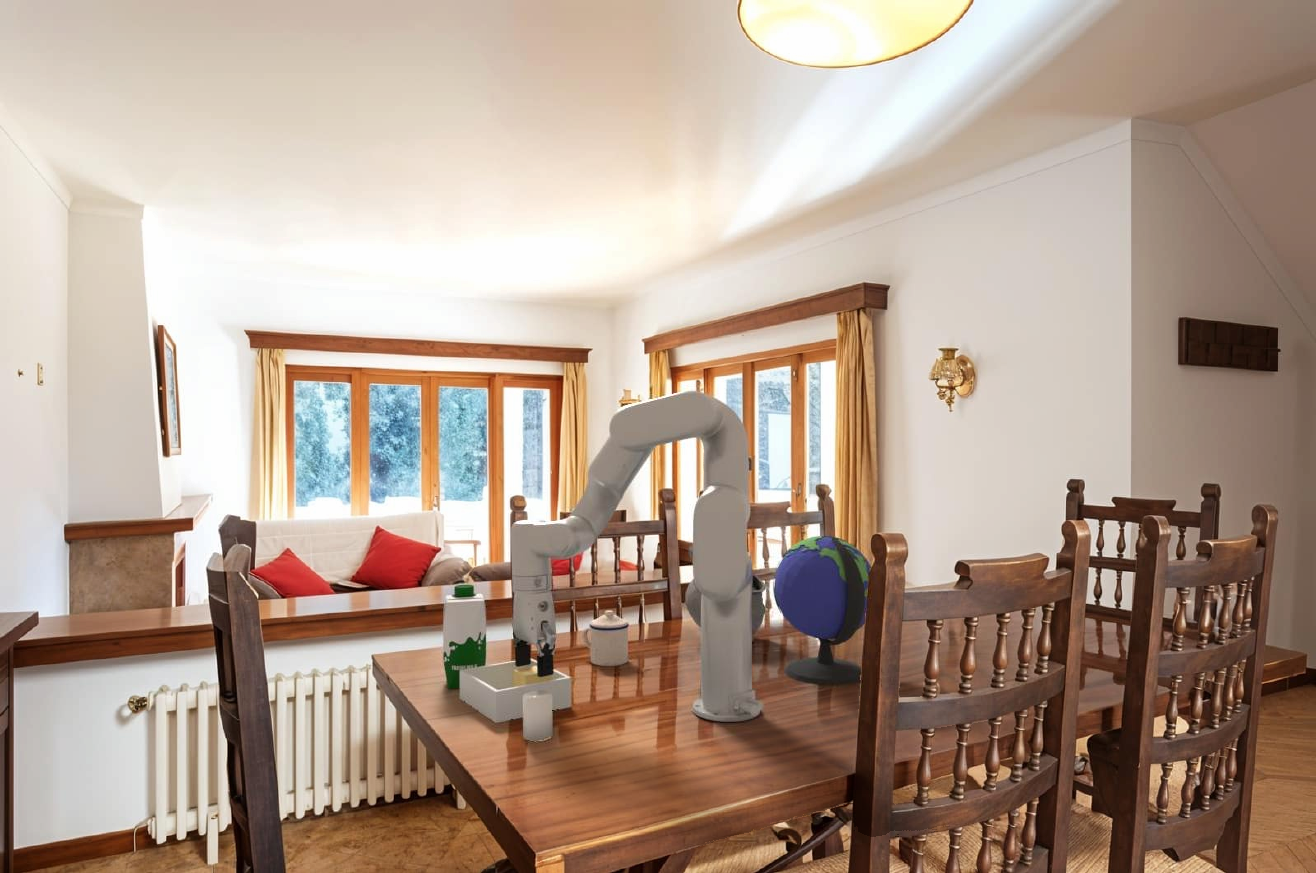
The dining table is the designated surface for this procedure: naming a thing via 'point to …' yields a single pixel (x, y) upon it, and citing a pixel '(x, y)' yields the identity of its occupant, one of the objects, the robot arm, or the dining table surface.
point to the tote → (508, 690)
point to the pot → (757, 601)
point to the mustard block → (527, 676)
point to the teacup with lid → (608, 640)
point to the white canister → (537, 715)
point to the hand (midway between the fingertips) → (534, 670)
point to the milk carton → (463, 633)
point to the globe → (823, 603)
